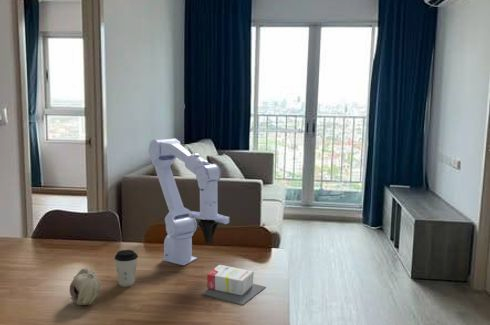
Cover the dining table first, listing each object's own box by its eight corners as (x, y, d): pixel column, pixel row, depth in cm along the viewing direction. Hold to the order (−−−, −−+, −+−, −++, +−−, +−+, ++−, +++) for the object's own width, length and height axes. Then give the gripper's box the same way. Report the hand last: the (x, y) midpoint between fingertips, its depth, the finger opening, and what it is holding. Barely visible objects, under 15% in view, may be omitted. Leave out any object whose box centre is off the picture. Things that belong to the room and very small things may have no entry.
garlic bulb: (78, 295, 133) (77, 262, 132) (107, 296, 132) (106, 263, 131) (62, 310, 124) (61, 274, 122) (93, 312, 123) (91, 276, 121)
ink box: (206, 289, 138) (242, 296, 133) (206, 273, 137) (242, 280, 132) (219, 279, 146) (253, 285, 141) (219, 264, 145) (254, 270, 140)
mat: (201, 293, 135) (201, 292, 135) (226, 278, 147) (226, 277, 147) (242, 305, 128) (243, 304, 128) (265, 287, 140) (265, 286, 140)
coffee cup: (142, 280, 144) (142, 250, 142) (130, 289, 137) (129, 257, 136) (123, 277, 146) (122, 247, 145) (110, 286, 140) (109, 254, 138)
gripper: (183, 201, 149) (183, 241, 150) (220, 206, 141) (220, 249, 143) (195, 197, 155) (196, 236, 156) (232, 202, 148) (232, 243, 149)
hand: (208, 242), depth 150 cm, fingers closed
